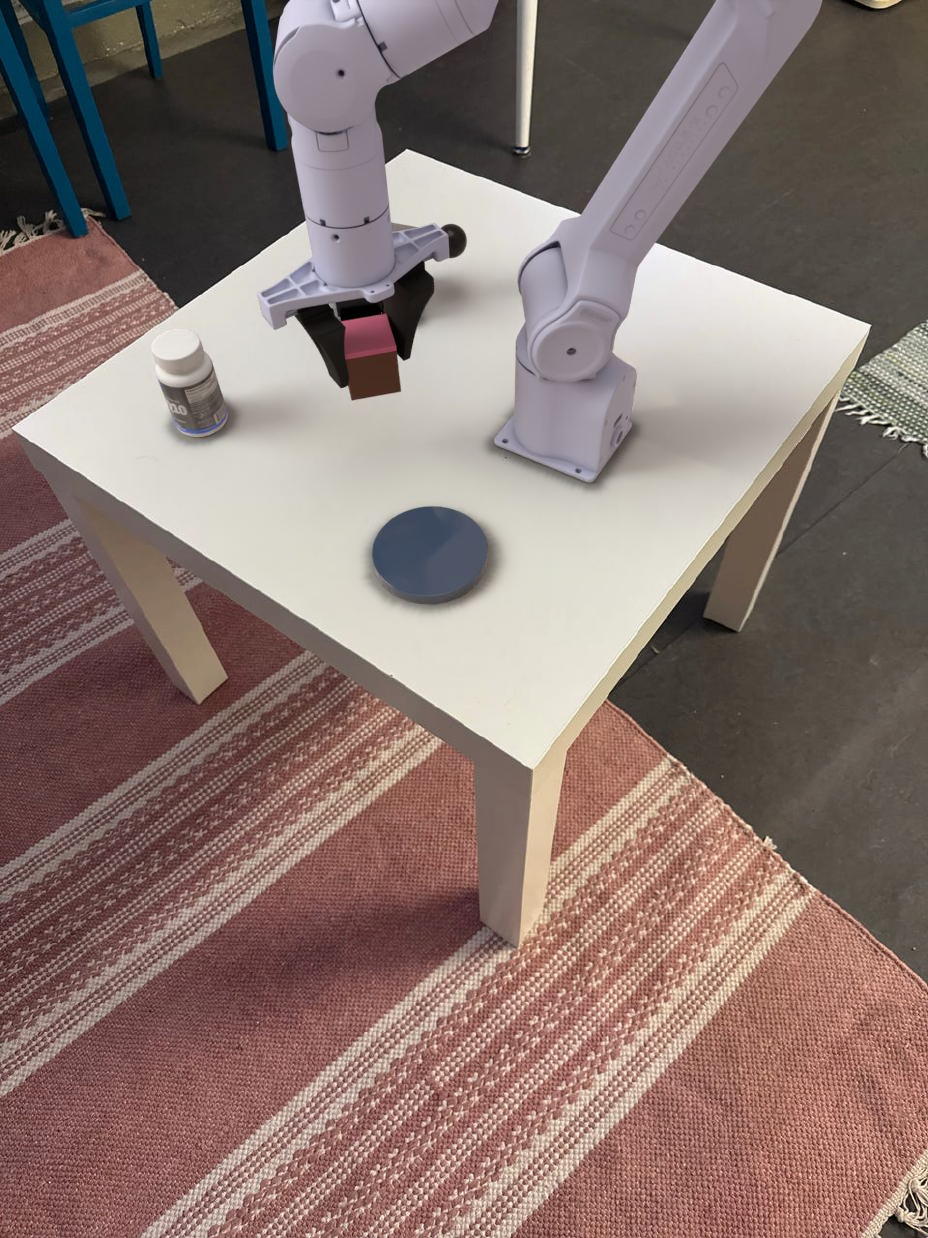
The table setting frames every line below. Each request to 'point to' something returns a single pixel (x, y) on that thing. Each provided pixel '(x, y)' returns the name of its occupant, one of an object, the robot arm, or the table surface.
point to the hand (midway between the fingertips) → (369, 366)
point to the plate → (430, 554)
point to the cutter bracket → (358, 309)
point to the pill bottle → (189, 383)
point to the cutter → (454, 235)
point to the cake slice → (371, 357)
